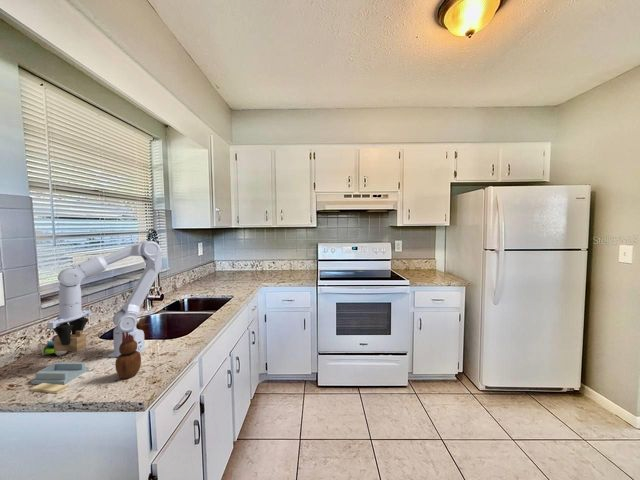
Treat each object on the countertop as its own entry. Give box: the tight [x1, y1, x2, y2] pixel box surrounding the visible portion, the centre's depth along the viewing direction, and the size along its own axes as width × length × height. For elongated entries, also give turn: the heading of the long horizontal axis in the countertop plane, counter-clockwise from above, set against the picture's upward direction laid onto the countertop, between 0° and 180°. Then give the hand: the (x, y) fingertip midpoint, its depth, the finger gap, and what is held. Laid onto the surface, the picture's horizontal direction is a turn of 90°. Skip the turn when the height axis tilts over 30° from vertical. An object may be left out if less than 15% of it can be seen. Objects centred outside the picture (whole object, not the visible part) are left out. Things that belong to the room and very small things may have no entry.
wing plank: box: [30, 383, 69, 394], centre depth 83 cm, size 9×3×1 cm, turn 82°
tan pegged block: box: [54, 331, 87, 352], centre depth 97 cm, size 8×4×6 cm, turn 89°
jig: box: [31, 361, 90, 385], centre depth 90 cm, size 10×9×3 cm
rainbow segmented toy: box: [40, 334, 68, 356], centre depth 108 cm, size 8×10×7 cm
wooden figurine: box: [114, 332, 142, 379], centre depth 91 cm, size 7×6×15 cm
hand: (71, 342), depth 97 cm, fingers closed on tan pegged block, 3 cm apart
